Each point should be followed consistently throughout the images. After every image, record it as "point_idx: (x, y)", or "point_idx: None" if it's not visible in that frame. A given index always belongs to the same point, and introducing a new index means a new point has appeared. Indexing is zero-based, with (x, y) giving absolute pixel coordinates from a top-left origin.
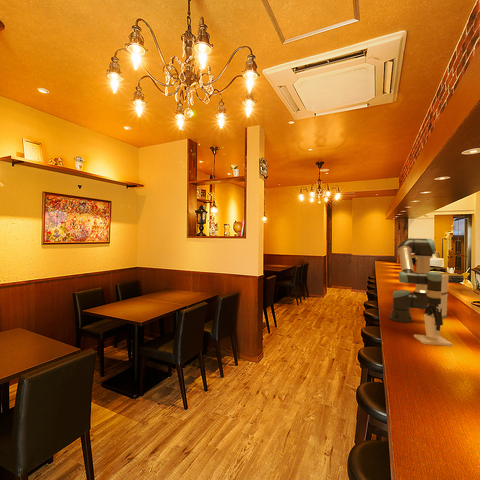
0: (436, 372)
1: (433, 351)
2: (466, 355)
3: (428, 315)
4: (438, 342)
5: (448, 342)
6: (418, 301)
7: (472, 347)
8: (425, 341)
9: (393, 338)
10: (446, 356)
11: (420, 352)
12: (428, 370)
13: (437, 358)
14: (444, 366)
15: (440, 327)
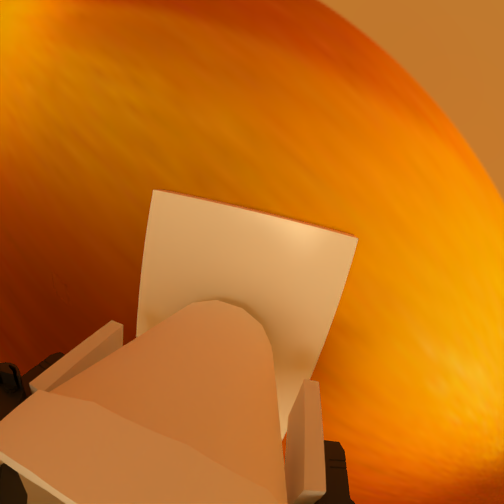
0: (492, 481)
1: (399, 438)
2: (498, 279)
3: (26, 481)
4: (316, 354)
5: (324, 251)
6: None
7: (376, 63)
8: (284, 430)
9: None
10: (464, 410)
11: (384, 485)
12: (475, 493)
13: (454, 453)
14: (494, 454)
15: (263, 402)
